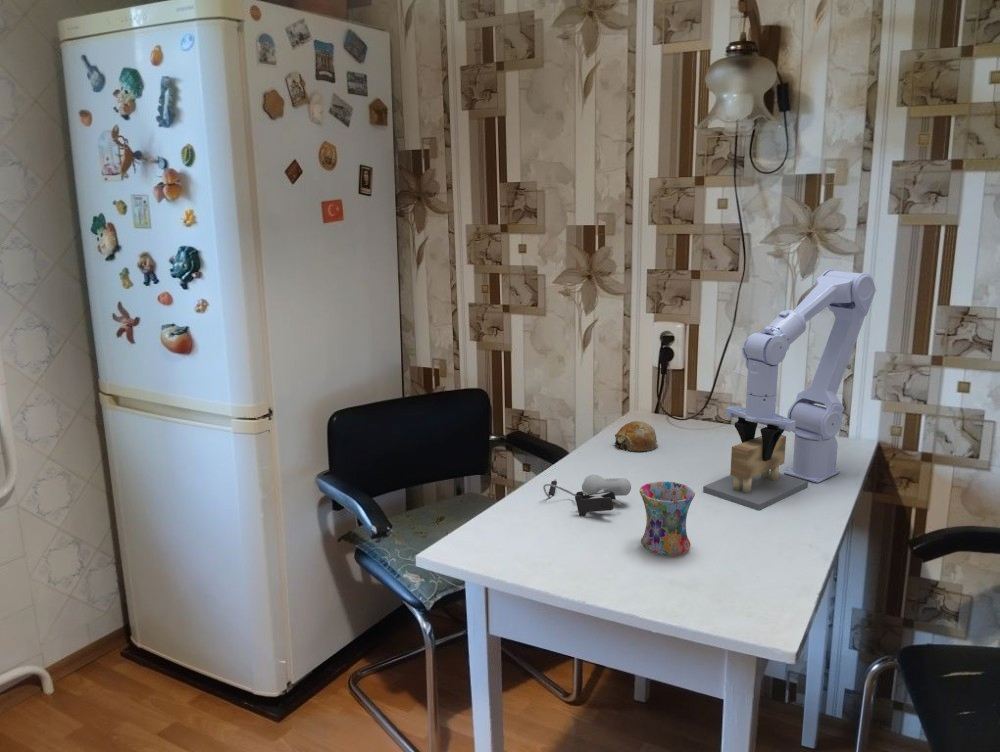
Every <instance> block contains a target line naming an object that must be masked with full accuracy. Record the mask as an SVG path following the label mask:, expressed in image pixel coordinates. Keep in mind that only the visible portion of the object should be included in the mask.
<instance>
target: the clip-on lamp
mask: <svg viewBox="0 0 1000 752" xmlns="http://www.w3.org/2000/svg"><path fill="white" fill-rule="evenodd" d="M557 480H558V479H556V478H555V479H553V481H551V482H550V483H545V484H544V485H543V486H542V487H543V492H544V493H545V496H546V497H547V498H549V499H550V498H552V497H553V496H555V493H556V490H557V489H558V490H561V491H563V492H565V493H568V494H569V495H571V496H573V497H574V500H575V504H576V507H577V508H576V509H577V511H578V515H579V517H580V516H581V517H585V516H587V513H591V512H593V513H594V512H606V511H607V512H609V511H613V509H614V507H615V506H614V505H615V504H617V505H620V506H622V502H621V501H620V500H618V499H616V496H617V497H619V496H620V497H621V496H623V497H624V496H628V495H629V494H630V492H632V491H631V490H632V483H631V482H630V481H629V480H628V478H622V477H621V478H603V477H602V476H600V475H598V474H589V475H588V476H586V477H585V478H584V480H583V482H582V484H581V490H580V491H577V492H576V493H573V492H571V491H569V490H568V489H565V488H564V487H561V486H558V485H557V484H558V482H557ZM546 487H549V490H548V492H547V489H546Z"/></svg>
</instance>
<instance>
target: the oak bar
mask: <svg viewBox="0 0 1000 752" xmlns="http://www.w3.org/2000/svg"><path fill="white" fill-rule="evenodd" d="M786 442H787V436H786V435H784V434H782V435H781V436H780V438H779V440H778V441H777V443H776V446H775V448H774V451H773V454H772V457H771V459H770V460H768V461H763V459H762V450H763V442H762V435H760V436H757V437H755V438H754V439H751V440H749V441H746V442H743V443H742V442H741V443H739V444H735V445H733V446H731V453H730V454H731V455H730V456H731V458H730V475H732V476H735V477H738V478H742V479H745V480H747V479H749V478H751V477H754V476H756V475H758V474H761V473H763V472H765V471H768V470H770V471H771V469H772V468H775V467H777V466H779V467H780V466H781V465H784V464H785V457H786V446H787V445H786V444H787V443H786Z"/></svg>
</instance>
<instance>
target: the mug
mask: <svg viewBox="0 0 1000 752" xmlns="http://www.w3.org/2000/svg"><path fill="white" fill-rule="evenodd" d="M639 494H640V496H641V499H642V502H643V504H644V509H645V515H646V516H645V517H646V521H645V522H646V523H645V524H646V525H645V530H644V534H643V535H642V537H641V539H640V544H641V546H642V547H643V549H645V550H646V551H648V552H651V553H653V554H655V555H660V556H677V555H681V554H684V553H685V552H687V551H689V549H690V548H691V541H690V539H689V538H688V537H689V536H688V533H687V516H688V512H689V509H690V507H691V503H692V501H693V499H694V497H695V495H696V493H695V490H694V489H693V488H692V487H691V486H688V485H686V484H683V483H680V482H676V481H664V480H663V481H653V482H649V483H646V484H644V485H642V486H641V487H640V489H639Z"/></svg>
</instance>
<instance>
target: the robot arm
mask: <svg viewBox="0 0 1000 752" xmlns="http://www.w3.org/2000/svg"><path fill="white" fill-rule="evenodd" d="M814 285H815V286H814V288H812V290H811V291H810V292H809V293H808V294H807V296H805V298H804V299H802V301H801V302H799V304H798V305H797V306H796V307H795V308H794V309H792V310H791V309H786V310H782V311H780V312H779V314H778V316H777V317H776V318H775V319H774V320H772V321H771V322H770V323H769V324H768V325H766V326H765V327H764V328H763V330H761V331H760V332H754V333H753V334H750V335H749V336H748V337H747V338H746V340H745V341H744V345H743V346H742V347H741V352H742V355H743V357H744V359H745V367H746V369H747V379H746V399H745V407H738V406H733V405H732V406H728V407H726V418H731V419H732V418H734V419H738V420H737V421H735V422H734V427H735V429H736V431H737V433H738V435H739V438H740V440H741V443H743V442H746V441H749V440H751V439H754V438H756V433H757V432H756V431H757V428H758V425H759V424H760V425H765V426H764V427H763V428H760V430H759V431H760V436H762V442H763V450H762V459H763V461H768V460H770V459H771V457H772V454H773V451H774V448H775V446H776V443H777V441H778V440H779V438H780V436H781V435H783V434H784V432H789V433H792V434H793V433H794V440H793V441H794V443H793V454H792V455H793V457H792V458H793V459H792V467H790V468H789V469H788V468H787V469H786V470H784V471H783V474H784V475H787V476H791V477H794V478H798V479H801V480H805V481H808V482H813V483H816V484H817V483H818V484H819V483H820V482H823V481H824V480H827V479H829V478H831V477H833V476H835V475H837V474H840V472H841V471H840V470H839V469H836V468H837V457H838V440H837V438H836V437H835V436H836V435H837V434H838V433H839V431H840V429H841V428H842V417H843V413H844V410H845V407H844V405H843V403H842V402H841V400H840V399H839V398H838V396H837V394H838V392H839V389H840V385H841V383H842V380H843V377H844V375H845V373H846V369H847V366H848V363H849V361H850V359H851V357H852V353H853V351H854V347H855V346H856V343H857V339H858V338H859V334H860V331H861V329H862V327H863V325H864V324H863V323H864V322H865V321H864V320H865V317H867V316H868V314H869V313H868V312H869V310H870V307H871V304H872V302H873V299H874V296H875V293H876V291H877V289H876V286H875V281H874V279H873V277H872V275H871V274H870V273H866V272H861V273H860V272H852V271H842V270H840V271H839V270H835V269H827V270H825V271H824V272H822V273H821V275H820V276H818V277H817V278H816V280H815V284H814ZM826 308H827V309H828V310H829V311H830V312H832V314H833V315H834V318H835V320H834V322H833V325H832V327H831V330H830V333H829V336H828V338H827V341H826V343H825V346H824V348H823V351H822V355H821V357H820V360H819V363H818V365H817V368H816V371H815V374H814V375H813V379H812V382H811V385H810V387H808V388H806V389H804V390H802V391H801V392H799V393H797V396H796V399H794V401H793V403H792V404H791V405H790V407H789V408H788V412H787V417H785V416H782V415H780V414H778V413H776V410H777V409H776V406H777V393H778V392H777V391H778V390H777V389H778V378H779V377H778V376H779V375H778V374H779V364H780V363H782V362H783V360H784V359H785V357H786V355H787V351H788V350H789V349H790V347H791V344H793V343H794V342H795V341H796V340H797V339H798V338H799V337H801V336H802V334H804V333H805V331H806V330H807V322H809V321H810V320H812V319H813V318H814V317H816V315H817V314H819V313H821V311H823V310H824V309H826Z"/></svg>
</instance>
